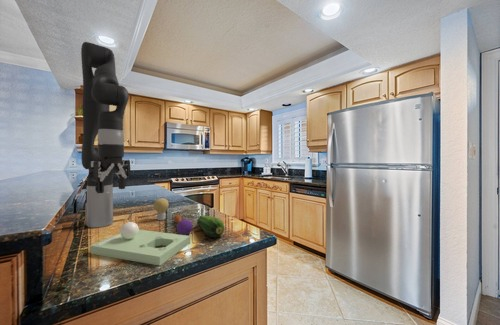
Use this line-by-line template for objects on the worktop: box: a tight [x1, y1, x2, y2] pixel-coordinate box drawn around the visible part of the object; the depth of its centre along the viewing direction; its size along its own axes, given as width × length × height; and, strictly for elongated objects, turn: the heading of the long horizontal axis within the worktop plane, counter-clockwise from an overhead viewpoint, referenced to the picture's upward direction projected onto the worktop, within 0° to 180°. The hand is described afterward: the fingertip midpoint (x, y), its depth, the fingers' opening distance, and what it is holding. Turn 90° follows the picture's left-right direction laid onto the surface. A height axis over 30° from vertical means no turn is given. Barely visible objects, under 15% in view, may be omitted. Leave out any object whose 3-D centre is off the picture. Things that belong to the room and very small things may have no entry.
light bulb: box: [153, 197, 169, 221], centre depth 102 cm, size 6×6×10 cm
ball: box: [119, 221, 140, 239], centre depth 72 cm, size 6×6×6 cm
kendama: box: [173, 214, 194, 236], centre depth 90 cm, size 6×6×20 cm
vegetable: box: [196, 215, 225, 239], centre depth 87 cm, size 7×7×20 cm
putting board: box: [89, 229, 191, 266], centre depth 71 cm, size 25×16×3 cm, turn 75°
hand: (111, 190), depth 74 cm, fingers open, 8 cm apart
